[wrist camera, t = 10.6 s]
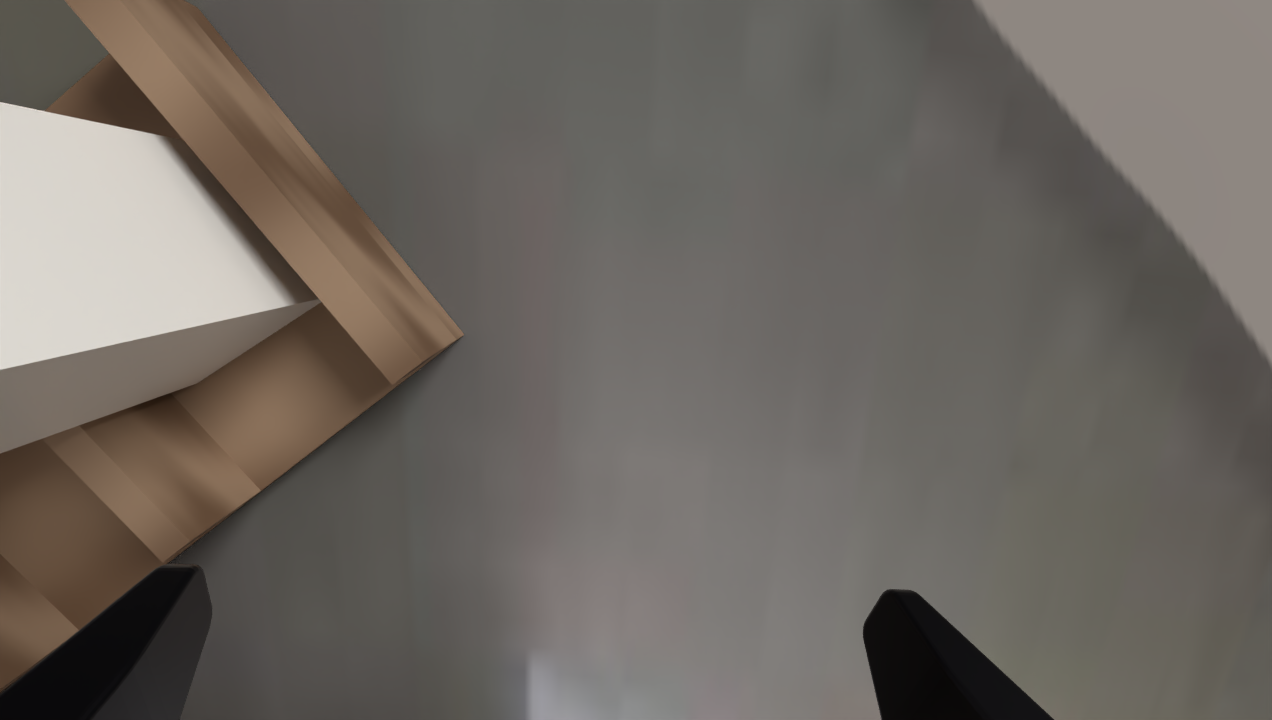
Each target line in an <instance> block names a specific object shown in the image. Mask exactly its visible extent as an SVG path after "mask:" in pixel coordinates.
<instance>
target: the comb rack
mask: <svg viewBox="0 0 1272 720" xmlns="http://www.w3.org/2000/svg"><path fill="white" fill-rule="evenodd" d="M65 1H66V2H67V4H68V5H69V6H70V7H71V8H72V9H73V11H74V12H75V13H76V14H77V15H78V17H79V18H80V19H81V20H82V21H83V22H84V24H85V25H86V26H87V27H88V28H89V29H90V31H91V32H92V33H93V34H94V35H95V36H96V38H97V39H98V40H99V41H100V42H101V44H102V45H103V46H104V47H105V48H106V49H107V51H108V52H109V54H108V55H107V56H106V57H105V58H104V59H103V60H102V61H100V62H99V63H98V64H97V65H96V66H95V67H94V68H92V69H91V70H90V71H89V72H88V73H87V74H86V75H85V76H83V77H82V78H81V79H80V80H79V81H78V82H77V83H76V84H74V85H73V86H72V87H71V88H70V89H69V90H68V91H67V92H65V93H64V94H63V95H62V96H61V97H60V98H59V99H57V100H56V101H55V102H54V103H53V104H52V105H51V106H50V107H48V108H47V109H46V110H45V112H50V113H55V114H59V115H64V116H69V117H74V118H79V119H83V120H88V121H93V122H98V123H103V124H108V125H112V126H117V127H122V128H127V129H132V130H136V131H141V132H146V133H151V134H156V135H160V136H165V137H170V138H175V139H180V140H184V141H185V142H186V143H187V145H188V146H189V147H190V148H191V149H192V150H193V152H194V153H195V154H196V155H197V156H198V157H199V159H200V160H201V161H202V162H203V163H204V165H205V166H206V167H207V168H208V169H209V170H210V172H211V173H212V174H213V175H214V176H215V177H216V179H217V180H218V181H219V182H220V183H221V184H222V186H223V187H224V188H225V189H226V190H227V192H228V193H229V194H230V195H231V196H232V197H233V199H234V200H235V201H236V202H237V203H238V204H239V206H240V207H241V208H242V209H243V210H244V211H245V213H246V214H247V215H248V216H249V217H250V219H251V220H252V221H253V222H254V223H255V224H256V226H257V227H258V228H259V229H260V230H261V231H262V233H263V234H264V235H265V236H266V237H267V239H268V240H269V241H270V242H271V243H272V244H273V246H274V247H275V248H276V249H277V250H278V251H279V253H280V254H281V255H282V256H283V257H284V258H285V260H286V261H287V262H288V263H289V264H290V266H291V267H292V268H293V269H294V270H295V271H296V273H297V274H298V275H299V276H300V277H301V278H302V280H303V281H304V282H305V283H306V284H307V285H308V287H309V288H310V289H311V290H312V291H313V293H314V294H315V295H316V296H317V297H318V298H319V300H320V301H321V303H319V304H318V305H316V306H315V307H313V308H311V309H310V310H308V311H307V312H305V313H304V314H302V315H301V316H299V317H298V318H296V319H295V320H293V321H292V322H290V323H289V324H287V325H286V326H284V327H282V328H281V329H279V330H278V331H276V332H275V333H273V334H272V335H270V336H269V337H267V338H266V339H264V340H263V341H261V342H260V343H258V344H256V345H255V346H253V347H252V348H250V349H249V350H247V351H246V352H244V353H243V354H241V355H240V356H238V357H237V358H235V359H234V360H232V361H230V362H229V363H227V364H226V365H224V366H223V367H221V368H220V369H218V370H217V371H215V372H214V373H212V374H211V375H209V376H208V377H206V378H204V379H203V380H201V381H200V382H198V383H197V384H194V385H191V386H188V387H185V388H183V389H180V390H177V391H174V392H171V393H169V394H166V395H163V396H160V397H157V398H155V399H152V400H149V401H146V402H143V403H141V404H138V405H135V406H132V407H129V408H127V409H124V410H121V411H118V412H115V413H113V414H110V415H107V416H104V417H101V418H99V419H96V420H93V421H90V422H87V423H85V424H82V425H79V426H76V427H73V428H70V429H68V430H65V431H62V432H59V433H56V434H54V435H51V436H48V437H45V438H42V439H40V440H37V441H34V442H31V443H28V444H26V445H23V446H20V447H17V448H14V449H12V450H9V451H6V452H3V453H0V693H1V692H2V691H3V690H5V689H6V688H7V687H8V686H10V685H11V684H12V683H14V682H15V681H16V680H18V679H19V678H20V677H21V676H23V675H24V674H25V673H27V672H28V671H29V670H31V669H32V668H33V667H34V666H36V665H37V664H38V663H39V662H40V661H42V660H43V659H44V658H45V657H47V656H48V655H49V654H50V653H52V652H53V651H54V650H55V649H56V648H58V647H59V646H60V645H61V644H63V643H64V642H65V641H66V640H68V639H69V638H70V637H71V636H72V635H74V634H75V633H76V632H77V631H79V630H80V629H81V628H82V627H84V626H85V625H86V624H87V623H89V622H90V621H91V620H92V619H93V618H95V617H96V616H97V615H98V614H100V613H101V612H102V611H103V610H105V609H106V608H107V607H108V606H109V605H111V604H112V603H113V602H114V601H116V600H117V599H118V598H119V597H121V596H122V595H123V594H124V593H126V592H127V591H128V590H129V589H130V588H132V587H133V586H134V585H135V584H137V583H138V582H139V581H140V580H142V579H143V578H144V577H145V576H146V575H148V574H149V573H150V572H151V571H153V570H154V569H155V568H157V567H159V566H162V565H165V564H168V563H169V562H170V561H172V560H173V559H174V558H176V557H177V556H178V555H179V554H181V553H182V552H183V551H185V550H186V549H187V548H189V547H190V546H191V545H192V544H194V543H195V542H196V541H198V540H199V539H200V538H201V537H203V536H204V535H205V534H207V533H208V532H209V531H211V530H212V529H213V528H214V527H216V526H217V525H218V524H220V523H221V522H222V521H223V520H225V519H226V518H227V517H229V516H230V515H231V514H233V513H234V512H235V511H236V510H238V509H239V508H240V507H242V506H243V505H244V504H246V503H247V502H248V501H249V500H251V499H252V498H253V497H255V496H256V495H257V494H258V493H260V492H261V491H262V490H264V489H265V488H266V487H268V486H269V485H270V484H271V483H273V482H274V481H275V480H277V479H278V478H279V477H280V476H282V475H283V474H284V473H286V472H287V471H288V470H290V469H291V468H292V467H293V466H295V465H296V464H297V463H299V462H300V461H301V460H302V459H304V458H305V457H306V456H308V455H309V454H310V453H312V452H313V451H314V450H315V449H317V448H318V447H319V446H321V445H322V444H323V443H325V442H326V441H327V440H328V439H330V438H331V437H332V436H334V435H335V434H336V433H337V432H339V431H340V430H341V429H343V428H344V427H345V426H347V425H348V424H349V423H350V422H352V421H353V420H354V419H356V418H357V417H358V416H359V415H361V414H362V413H363V412H365V411H366V410H367V409H369V408H370V407H371V406H372V405H374V404H375V403H376V402H378V401H379V400H380V399H382V398H383V397H384V396H385V395H387V394H388V393H389V392H391V391H392V390H393V389H394V388H396V387H397V386H398V385H400V384H401V383H402V382H404V381H405V380H406V379H407V378H409V377H410V376H411V375H413V374H414V373H415V372H416V371H418V370H419V369H420V368H422V367H423V366H424V365H426V364H427V363H428V362H429V361H431V360H432V359H433V358H435V357H436V356H437V355H438V354H440V353H441V352H442V351H444V350H445V349H446V348H448V347H449V346H450V345H451V344H453V343H454V342H455V341H457V340H458V339H459V338H461V337H462V336H463V335H464V334H463V333H462V331H461V330H460V329H459V328H458V326H457V325H456V324H455V323H454V321H453V320H452V319H451V318H450V317H449V315H448V314H447V313H446V312H445V310H444V309H443V308H442V307H441V306H440V304H439V303H438V302H437V301H436V299H435V298H434V297H433V296H432V295H431V293H430V292H429V291H428V290H427V288H426V287H425V286H424V285H423V283H422V282H421V281H420V280H419V279H418V277H417V276H416V275H415V274H414V272H413V271H412V270H411V269H410V268H409V266H408V265H407V264H406V263H405V261H404V260H403V259H402V258H401V257H400V255H399V254H398V253H397V252H396V250H395V249H394V248H393V247H392V245H391V244H390V243H389V242H388V241H387V239H386V238H385V237H384V236H383V234H382V233H381V232H380V231H379V230H378V228H377V227H376V226H375V225H374V223H373V222H372V221H371V220H370V219H369V217H368V216H367V215H366V214H365V212H364V211H363V210H362V209H361V207H360V206H359V205H358V204H357V203H356V201H355V200H354V199H353V198H352V196H351V195H350V194H349V193H348V192H347V190H346V189H345V188H344V187H343V185H342V184H341V183H340V182H339V181H338V179H337V178H336V177H335V176H334V174H333V173H332V172H331V171H330V169H329V168H328V167H327V166H326V165H325V163H324V162H323V161H322V160H321V158H320V157H319V156H318V155H317V154H316V152H315V151H314V150H313V149H312V147H311V146H310V145H309V144H308V143H307V141H306V140H305V139H304V138H303V136H302V135H301V134H300V133H299V131H298V130H297V129H296V128H295V127H294V125H293V124H292V123H291V122H290V120H289V119H288V118H287V117H286V116H285V114H284V113H283V112H282V111H281V109H280V108H279V107H278V106H277V105H276V103H275V102H274V101H273V100H272V98H271V97H270V96H269V95H268V93H267V92H266V91H265V90H264V89H263V87H262V86H261V85H260V84H259V82H258V81H257V80H256V79H255V78H254V76H253V75H252V74H251V73H250V71H249V70H248V69H247V68H246V67H245V65H244V64H243V63H242V62H241V60H240V59H239V58H238V57H237V55H236V54H235V53H234V52H233V51H232V49H231V48H230V47H229V46H228V44H227V43H226V42H225V41H224V40H223V38H222V37H221V36H220V35H219V33H218V32H217V31H216V30H215V29H214V27H213V26H212V25H211V24H210V22H209V21H208V20H207V19H206V17H205V16H204V15H203V14H202V13H201V11H200V10H199V9H198V8H197V7H195V6H193V5H191V4H190V3H188V2H186V1H184V0H65Z"/></svg>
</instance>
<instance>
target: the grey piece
mask: <svg viewBox="0 0 1272 720" xmlns="http://www.w3.org/2000/svg"><path fill="white" fill-rule="evenodd" d="M319 303H321V301H320V300H319V298H318V297H317V296H316V295H315V294H314V293H313V291H312V290H311V289H310V288H309V287H308V285H307V284H306V283H305V282H304V281H303V280H302V278H301V277H300V276H299V275H298V274H297V273H296V271H295V270H294V269H293V268H292V267H291V266H290V264H289V263H288V262H287V261H286V260H285V258H284V257H283V256H282V255H281V254H280V253H279V251H278V250H277V249H276V248H275V247H274V246H273V244H272V243H271V242H270V241H269V240H268V239H267V237H266V236H265V235H264V234H263V233H262V231H261V230H260V229H259V228H258V227H257V226H256V224H255V223H254V222H253V221H252V220H251V219H250V217H249V216H248V215H247V214H246V213H245V211H244V210H243V209H242V208H241V207H240V206H239V204H238V203H237V202H236V201H235V200H234V199H233V197H232V196H231V195H230V194H229V193H228V192H227V190H226V189H225V188H224V187H223V186H222V184H221V183H220V182H219V181H218V180H217V179H216V177H215V176H214V175H213V174H212V173H211V172H210V170H209V169H208V168H207V167H206V166H205V165H204V163H203V162H202V161H201V160H200V159H199V157H198V156H197V155H196V154H195V153H194V152H193V150H192V149H191V148H190V147H189V146H188V145H187V143H186V142H185V141H184V140H180V139H175V138H170V137H165V136H160V135H156V134H151V133H146V132H141V131H136V130H132V129H127V128H122V127H117V126H112V125H108V124H103V123H98V122H93V121H88V120H83V119H79V118H74V117H69V116H64V115H59V114H55V113H50V112H45V111H40V110H35V109H31V108H26V107H21V106H16V105H11V104H7V103H2V102H0V453H3V452H6V451H9V450H12V449H14V448H17V447H20V446H23V445H26V444H28V443H31V442H34V441H37V440H40V439H42V438H45V437H48V436H51V435H54V434H56V433H59V432H62V431H65V430H68V429H70V428H73V427H76V426H79V425H82V424H85V423H87V422H90V421H93V420H96V419H99V418H101V417H104V416H107V415H110V414H113V413H115V412H118V411H121V410H124V409H127V408H129V407H132V406H135V405H138V404H141V403H143V402H146V401H149V400H152V399H155V398H157V397H160V396H163V395H166V394H169V393H171V392H174V391H177V390H180V389H183V388H185V387H188V386H191V385H194V384H197V383H198V382H200V381H201V380H203V379H204V378H206V377H208V376H209V375H211V374H212V373H214V372H215V371H217V370H218V369H220V368H221V367H223V366H224V365H226V364H227V363H229V362H230V361H232V360H234V359H235V358H237V357H238V356H240V355H241V354H243V353H244V352H246V351H247V350H249V349H250V348H252V347H253V346H255V345H256V344H258V343H260V342H261V341H263V340H264V339H266V338H267V337H269V336H270V335H272V334H273V333H275V332H276V331H278V330H279V329H281V328H282V327H284V326H286V325H287V324H289V323H290V322H292V321H293V320H295V319H296V318H298V317H299V316H301V315H302V314H304V313H305V312H307V311H308V310H310V309H311V308H313V307H315V306H316V305H318V304H319Z"/></svg>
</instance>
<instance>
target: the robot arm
mask: <svg viewBox="0 0 1272 720" xmlns="http://www.w3.org/2000/svg"><path fill="white" fill-rule="evenodd" d="M211 619H212V605H211V600H210V596H209V592H208V588H207V583H206V579H205V575H204V572H203V569H202V568H201V567H199V566H198V565H186V564H165V565H162V566H159V567H157V568H155V569H154V570H153V571H151V572H150V573H149V574H148V575H146V576H145V577H144V578H143V579H142V580H140V581H139V582H138V583H137V584H135V585H134V586H133V587H132V588H130V589H129V590H128V591H127V592H126V593H124V594H123V595H122V596H121V597H119V598H118V599H117V600H116V601H114V602H113V603H112V604H111V605H109V606H108V607H107V608H106V609H105V610H103V611H102V612H101V613H100V614H98V615H97V616H96V617H95V618H93V619H92V620H91V621H90V622H89V623H87V624H86V625H85V626H84V627H82V628H81V629H80V630H79V631H77V632H76V633H75V634H74V635H72V636H71V637H70V638H69V639H68V640H66V641H65V642H64V643H63V644H61V645H60V646H59V647H58V648H56V649H55V650H54V651H53V652H52V653H50V654H49V655H48V656H47V657H45V658H44V659H43V660H42V661H40V662H39V663H38V664H37V665H36V666H34V667H33V668H32V669H31V670H29V671H28V672H27V673H26V674H24V675H23V676H22V677H21V678H19V679H18V680H17V681H16V682H15V683H13V684H12V685H11V686H10V687H8V688H7V689H6V690H5V691H3V692H2V693H1V694H0V720H180V717H181V714H182V711H183V708H184V704H185V701H186V698H187V695H188V692H189V689H190V686H191V683H192V680H193V677H194V674H195V671H196V668H197V665H198V661H199V658H200V655H201V652H202V649H203V646H204V643H205V640H206V637H207V634H208V631H209V627H210V624H211ZM863 639H864V644H865V648H866V653H867V657H868V662H869V666H870V671H871V675H872V679H873V684H874V688H875V693H876V697H877V702H878V706H879V710H880V715H881V719H882V720H1054V719H1053V718H1052V717H1051V716H1050V715H1049V714H1047V713H1046V712H1045V711H1044V710H1043V709H1042V708H1041V707H1040V706H1039V705H1038V704H1037V703H1036V702H1034V701H1033V700H1032V699H1031V698H1030V697H1029V696H1028V695H1027V694H1026V693H1025V692H1024V691H1023V690H1022V689H1020V688H1019V687H1018V686H1017V685H1016V684H1015V683H1014V682H1013V681H1012V680H1011V679H1010V678H1009V677H1008V676H1006V675H1005V674H1004V673H1003V672H1002V671H1001V670H1000V669H999V668H998V667H997V666H996V665H995V664H994V663H992V662H991V661H990V660H989V659H988V658H987V657H986V656H985V655H984V654H983V653H982V652H981V651H979V650H978V649H977V648H976V647H975V646H974V645H973V644H972V643H971V642H970V641H969V640H968V639H967V638H965V637H964V636H963V635H962V634H961V633H960V632H959V631H958V630H957V629H956V628H955V627H954V626H953V625H951V624H950V623H949V622H948V621H947V620H946V619H945V618H944V617H943V616H942V615H941V614H940V613H938V612H937V611H936V610H935V609H934V608H933V607H932V606H931V605H930V604H929V603H928V602H927V601H926V600H924V599H923V598H922V597H921V596H920V595H919V594H917V593H916V592H914V591H911V590H899V589H889V590H886V591H885V592H883V594H882V595H881V596H880V598H879V600H878V601H877V603H876V604H875V606H874V608H873V609H872V611H871V612H870V614H869V616H868V617H867V619H866V621H865V623H864V627H863Z"/></svg>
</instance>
